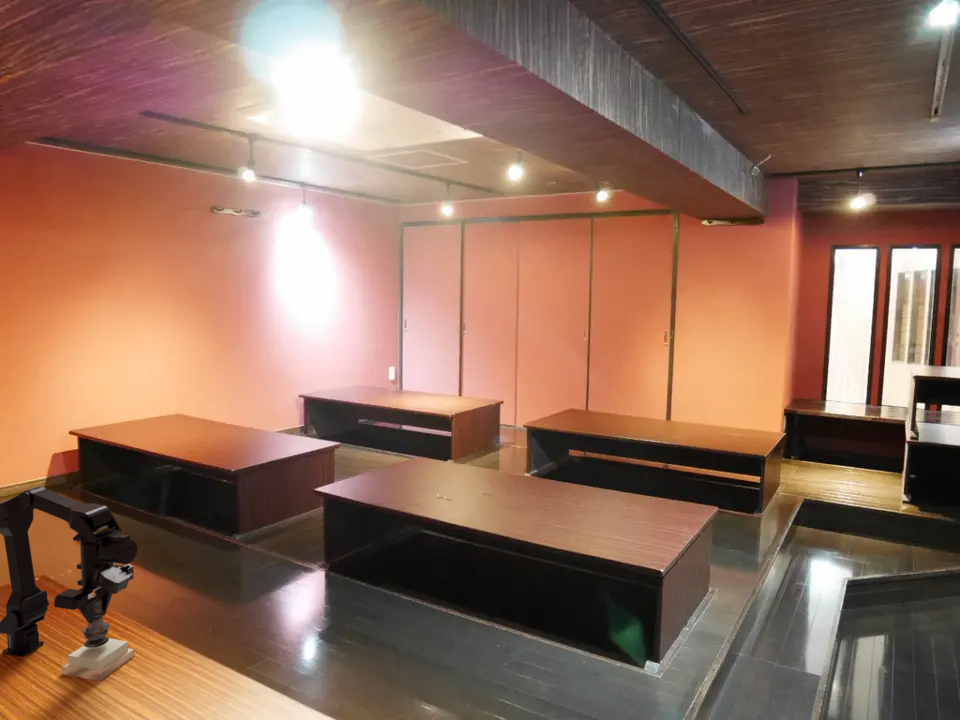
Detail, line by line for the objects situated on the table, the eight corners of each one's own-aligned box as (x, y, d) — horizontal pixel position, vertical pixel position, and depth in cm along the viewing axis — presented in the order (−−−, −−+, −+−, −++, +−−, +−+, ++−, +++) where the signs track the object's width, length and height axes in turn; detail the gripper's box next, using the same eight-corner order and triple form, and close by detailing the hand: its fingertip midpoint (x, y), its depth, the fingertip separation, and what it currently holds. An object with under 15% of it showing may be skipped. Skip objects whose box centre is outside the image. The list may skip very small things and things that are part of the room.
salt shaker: (97, 649, 155) (95, 602, 153) (76, 646, 156) (75, 599, 155) (115, 637, 160) (114, 591, 159) (95, 634, 162) (94, 589, 160)
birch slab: (61, 676, 154) (61, 667, 154) (98, 652, 165) (97, 643, 165) (100, 683, 152) (99, 673, 152) (134, 658, 163) (134, 649, 163)
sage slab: (68, 665, 155) (68, 655, 155) (99, 645, 164) (98, 636, 164) (99, 670, 153) (98, 661, 153) (128, 650, 162) (127, 641, 161)
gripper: (91, 578, 145) (93, 643, 147) (150, 547, 163) (151, 605, 165) (50, 572, 147) (53, 636, 149) (113, 542, 166) (115, 600, 167)
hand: (96, 618), depth 157 cm, fingers closed on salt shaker, 3 cm apart
